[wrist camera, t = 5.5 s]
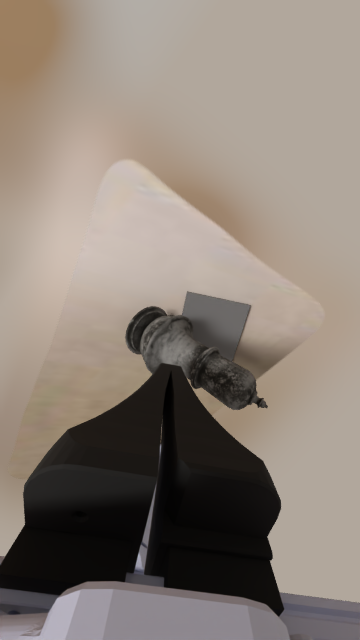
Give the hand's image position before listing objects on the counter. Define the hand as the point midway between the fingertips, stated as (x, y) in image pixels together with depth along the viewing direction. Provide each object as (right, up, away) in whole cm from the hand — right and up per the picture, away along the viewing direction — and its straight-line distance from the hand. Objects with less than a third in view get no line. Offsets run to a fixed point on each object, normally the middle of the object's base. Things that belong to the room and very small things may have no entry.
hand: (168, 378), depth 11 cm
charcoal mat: (+4, +3, +9) cm, 10 cm away
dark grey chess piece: (-3, +3, +7) cm, 8 cm away
